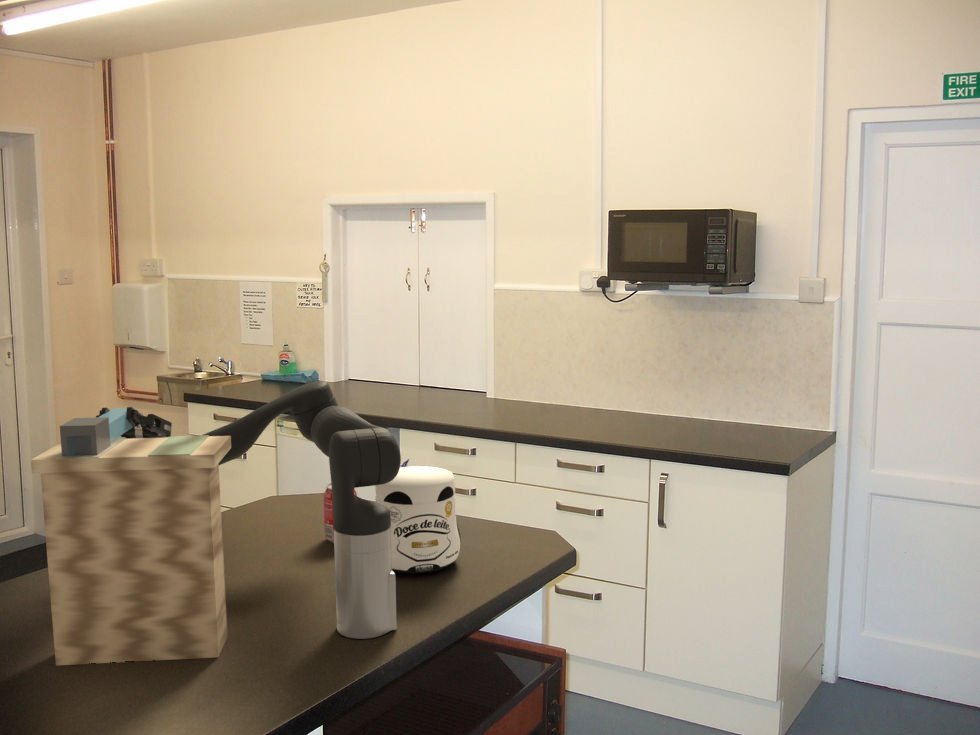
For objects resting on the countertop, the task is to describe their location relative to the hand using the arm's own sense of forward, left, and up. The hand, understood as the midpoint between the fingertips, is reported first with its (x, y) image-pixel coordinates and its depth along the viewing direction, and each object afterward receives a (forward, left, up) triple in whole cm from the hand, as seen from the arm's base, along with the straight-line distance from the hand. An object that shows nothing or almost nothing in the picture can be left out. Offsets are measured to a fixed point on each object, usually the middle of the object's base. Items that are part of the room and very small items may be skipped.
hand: (116, 412), depth 148 cm
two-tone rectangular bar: (+2, +6, -3) cm, 7 cm away
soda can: (-42, -25, -35) cm, 60 cm away
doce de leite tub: (-53, -5, -36) cm, 64 cm away
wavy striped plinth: (-3, +13, -35) cm, 38 cm away
